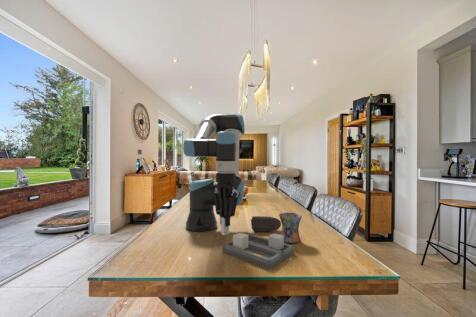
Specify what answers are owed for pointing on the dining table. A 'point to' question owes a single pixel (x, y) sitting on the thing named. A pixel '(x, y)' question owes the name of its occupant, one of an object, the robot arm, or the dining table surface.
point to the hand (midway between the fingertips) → (225, 234)
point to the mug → (290, 227)
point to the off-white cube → (240, 241)
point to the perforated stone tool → (265, 223)
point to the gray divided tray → (259, 252)
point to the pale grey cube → (276, 241)
